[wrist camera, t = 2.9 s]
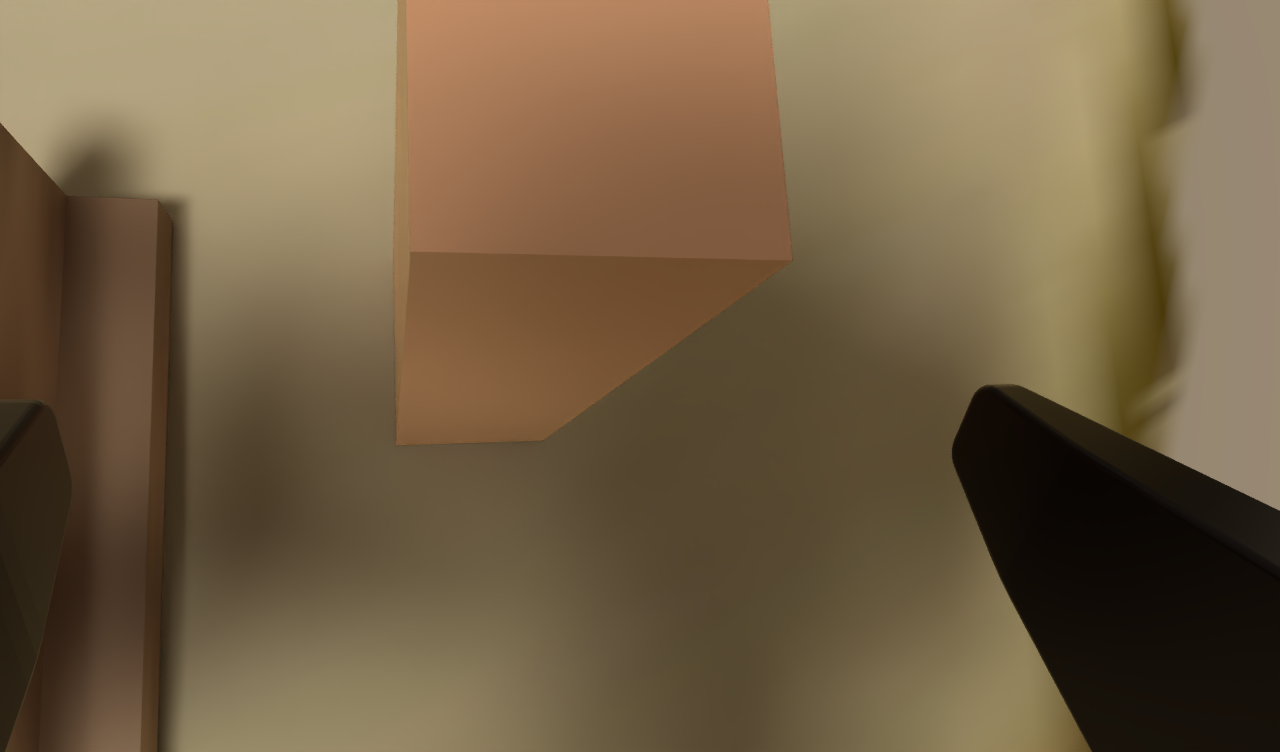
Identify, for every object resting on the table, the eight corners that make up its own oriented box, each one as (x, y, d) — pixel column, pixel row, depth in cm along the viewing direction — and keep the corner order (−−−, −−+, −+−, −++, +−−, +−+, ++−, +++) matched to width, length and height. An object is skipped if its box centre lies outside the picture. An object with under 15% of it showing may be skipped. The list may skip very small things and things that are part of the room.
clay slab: (543, 440, 19) (793, 261, 7) (396, 445, 18) (410, 252, 6) (534, 259, 20) (751, -174, 8) (393, 256, 19) (401, -229, 7)
